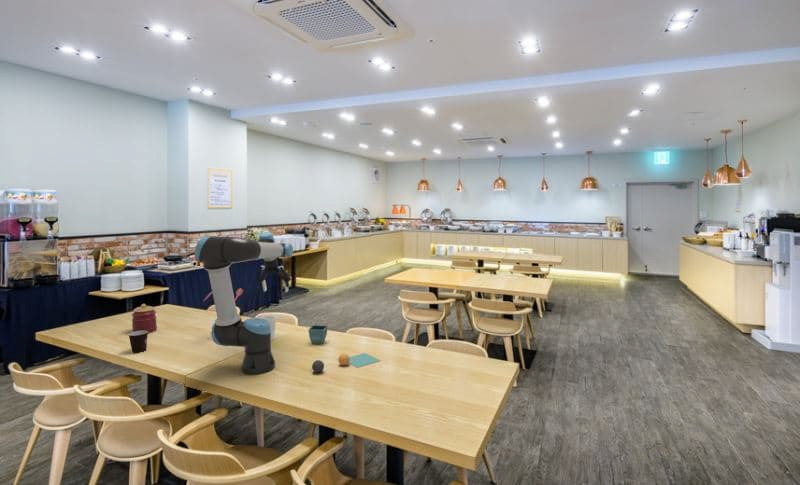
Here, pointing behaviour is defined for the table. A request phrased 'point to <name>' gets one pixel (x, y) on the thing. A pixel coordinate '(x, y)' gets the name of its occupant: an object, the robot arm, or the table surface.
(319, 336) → the flower pot
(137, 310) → the canister
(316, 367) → the black ball
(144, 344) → the coffee mug
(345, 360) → the orange ball
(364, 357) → the teal mark
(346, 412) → the table surface
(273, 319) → the foam cup
